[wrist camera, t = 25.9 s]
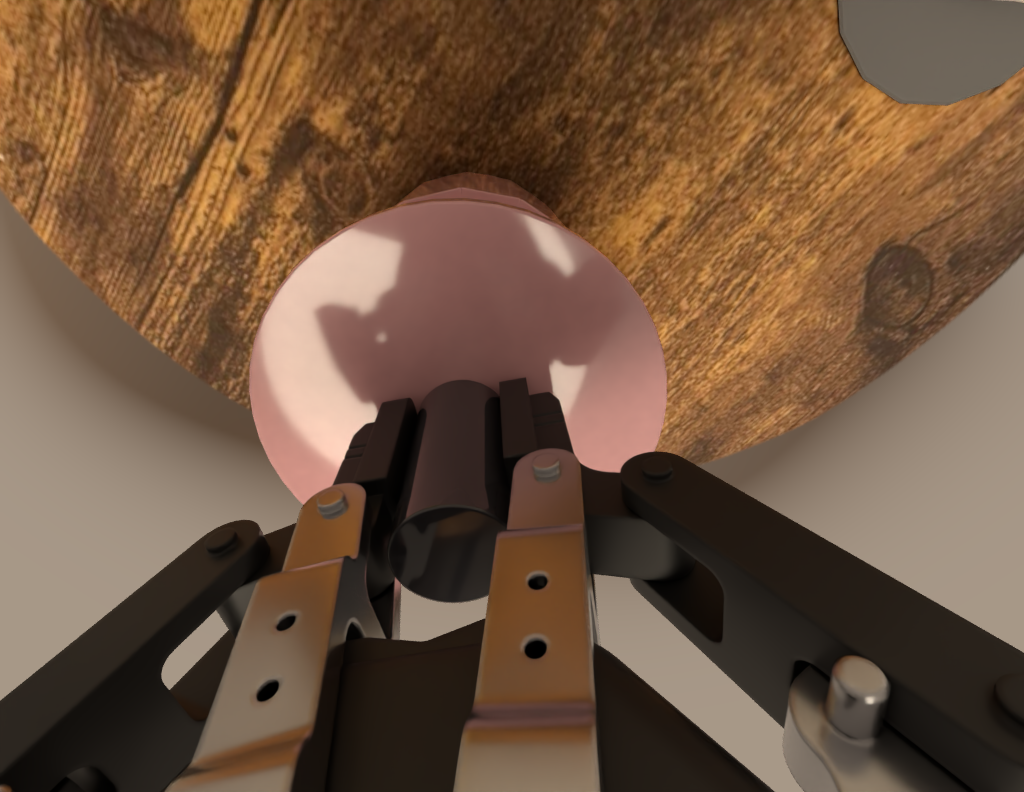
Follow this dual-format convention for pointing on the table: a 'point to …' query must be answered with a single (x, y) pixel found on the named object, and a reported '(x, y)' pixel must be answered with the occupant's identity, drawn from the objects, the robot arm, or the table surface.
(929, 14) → the cup
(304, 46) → the table surface
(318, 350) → the lid
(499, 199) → the pot
